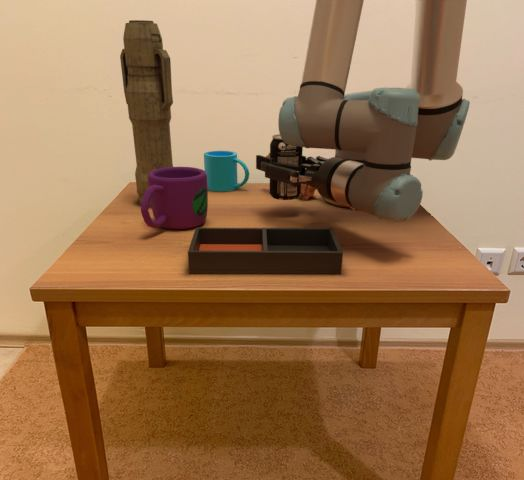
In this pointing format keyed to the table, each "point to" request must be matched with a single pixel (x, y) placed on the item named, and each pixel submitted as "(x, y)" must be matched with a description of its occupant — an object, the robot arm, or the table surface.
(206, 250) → the tray
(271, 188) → the beverage can
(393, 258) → the table surface
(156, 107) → the stone statue
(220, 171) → the mug
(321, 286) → the table surface
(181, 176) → the mug
